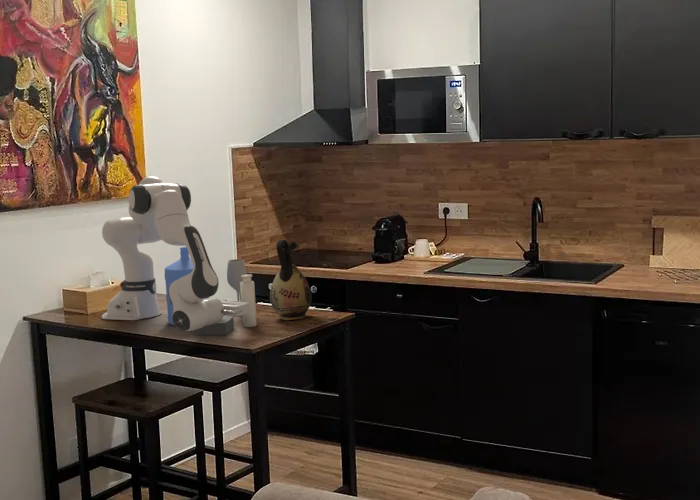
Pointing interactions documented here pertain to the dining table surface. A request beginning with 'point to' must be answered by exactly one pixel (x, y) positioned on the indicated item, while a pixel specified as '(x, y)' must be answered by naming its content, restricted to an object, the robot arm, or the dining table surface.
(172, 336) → the dining table surface
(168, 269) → the water jug
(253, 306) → the vase
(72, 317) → the dining table surface
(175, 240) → the robot arm
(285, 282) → the ceramic jug
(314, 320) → the dining table surface
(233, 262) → the wineglass
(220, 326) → the plinth
